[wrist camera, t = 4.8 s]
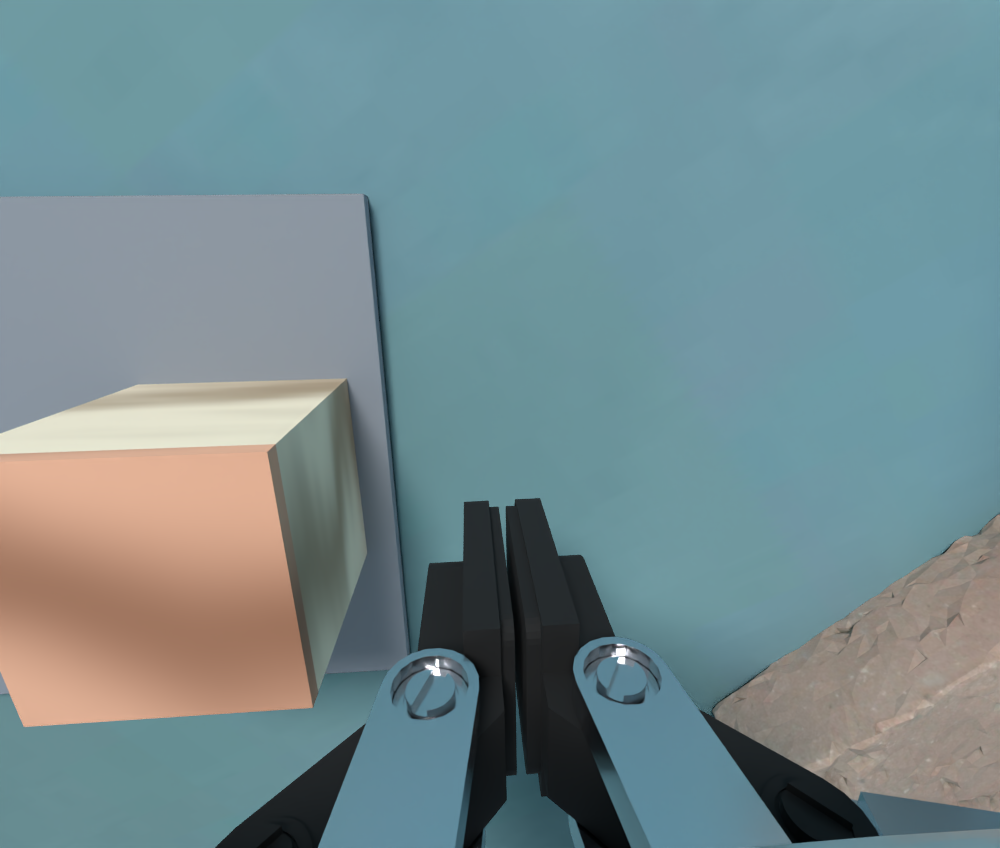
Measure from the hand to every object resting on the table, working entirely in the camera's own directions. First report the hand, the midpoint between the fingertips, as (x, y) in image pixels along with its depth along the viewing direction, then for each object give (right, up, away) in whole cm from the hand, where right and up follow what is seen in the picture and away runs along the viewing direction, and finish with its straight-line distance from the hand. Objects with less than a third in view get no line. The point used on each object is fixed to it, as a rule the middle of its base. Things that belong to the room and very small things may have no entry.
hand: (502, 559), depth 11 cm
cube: (-8, +1, +4) cm, 9 cm away
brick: (+17, -7, +10) cm, 21 cm away
